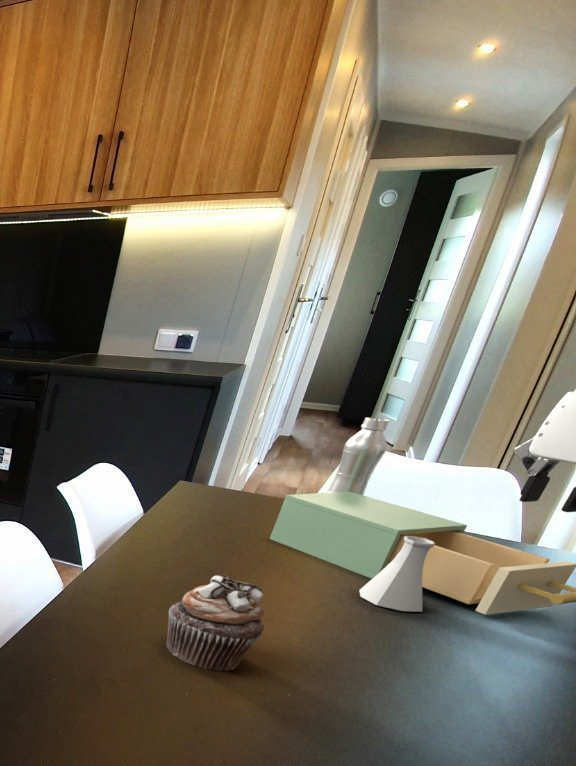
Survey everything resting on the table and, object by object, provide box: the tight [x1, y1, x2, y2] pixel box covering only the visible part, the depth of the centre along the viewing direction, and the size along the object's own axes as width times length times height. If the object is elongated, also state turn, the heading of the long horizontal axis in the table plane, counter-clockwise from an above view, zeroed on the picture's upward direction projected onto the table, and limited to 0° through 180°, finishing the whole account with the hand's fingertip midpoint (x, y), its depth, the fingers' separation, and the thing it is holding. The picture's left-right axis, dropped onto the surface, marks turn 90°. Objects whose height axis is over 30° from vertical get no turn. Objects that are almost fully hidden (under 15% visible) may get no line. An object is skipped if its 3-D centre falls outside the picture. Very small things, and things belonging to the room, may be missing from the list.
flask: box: [359, 536, 435, 613], centre depth 92 cm, size 7×7×10 cm
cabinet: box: [269, 492, 468, 580], centre depth 110 cm, size 19×15×9 cm
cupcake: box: [165, 573, 265, 672], centre depth 77 cm, size 10×10×10 cm
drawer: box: [385, 531, 576, 616], centre depth 95 cm, size 22×13×7 cm, turn 13°
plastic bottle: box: [325, 416, 390, 496], centre depth 127 cm, size 6×7×20 cm
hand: (549, 504), depth 100 cm, fingers open, 4 cm apart
